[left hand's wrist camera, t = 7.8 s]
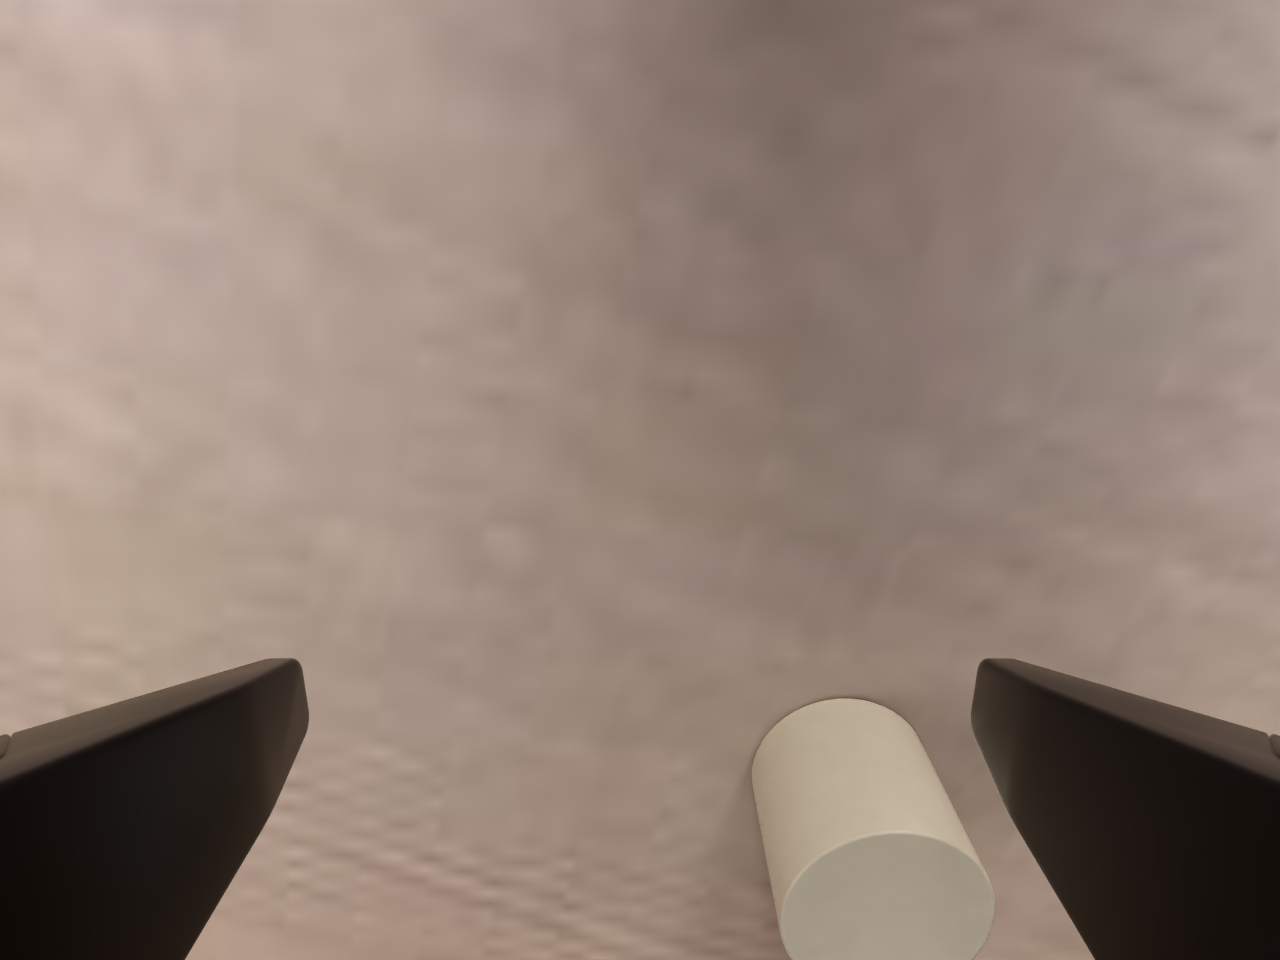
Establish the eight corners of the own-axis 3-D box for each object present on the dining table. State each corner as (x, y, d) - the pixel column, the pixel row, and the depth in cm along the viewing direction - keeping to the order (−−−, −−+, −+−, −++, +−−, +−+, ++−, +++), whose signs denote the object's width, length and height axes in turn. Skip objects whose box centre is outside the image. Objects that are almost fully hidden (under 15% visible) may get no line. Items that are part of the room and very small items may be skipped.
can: (852, 867, 20) (902, 1029, 16) (716, 791, 20) (736, 942, 16) (960, 751, 19) (1041, 895, 15) (822, 666, 19) (871, 796, 15)
